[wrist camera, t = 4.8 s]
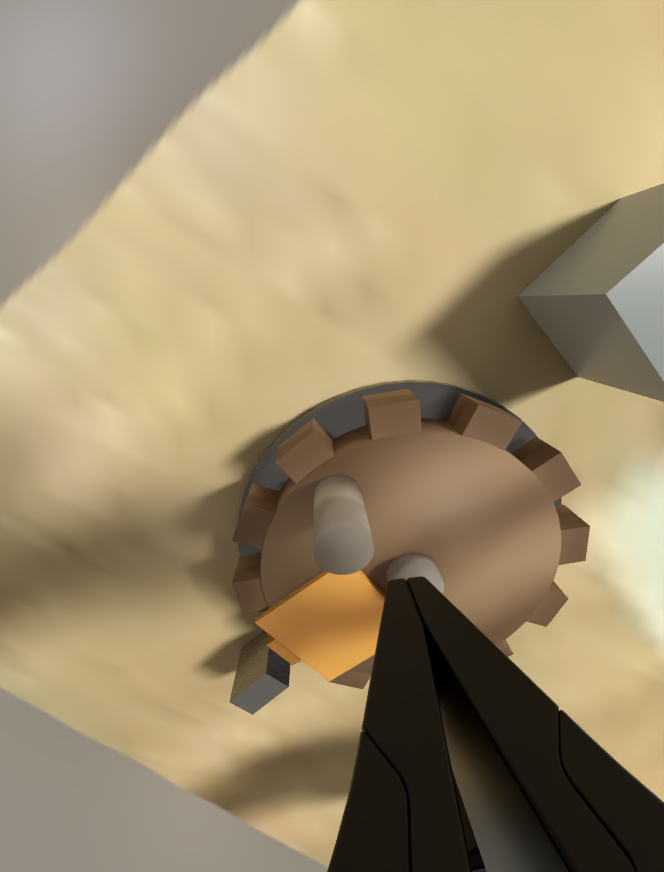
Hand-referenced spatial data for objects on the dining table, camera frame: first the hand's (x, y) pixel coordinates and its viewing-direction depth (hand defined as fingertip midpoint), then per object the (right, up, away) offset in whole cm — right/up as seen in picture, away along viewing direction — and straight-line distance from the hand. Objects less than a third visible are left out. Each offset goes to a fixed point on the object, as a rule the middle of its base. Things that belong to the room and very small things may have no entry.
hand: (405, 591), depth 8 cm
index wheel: (+2, -2, +11) cm, 11 cm away
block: (+10, +10, +7) cm, 15 cm away
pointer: (-6, -9, +13) cm, 17 cm away
